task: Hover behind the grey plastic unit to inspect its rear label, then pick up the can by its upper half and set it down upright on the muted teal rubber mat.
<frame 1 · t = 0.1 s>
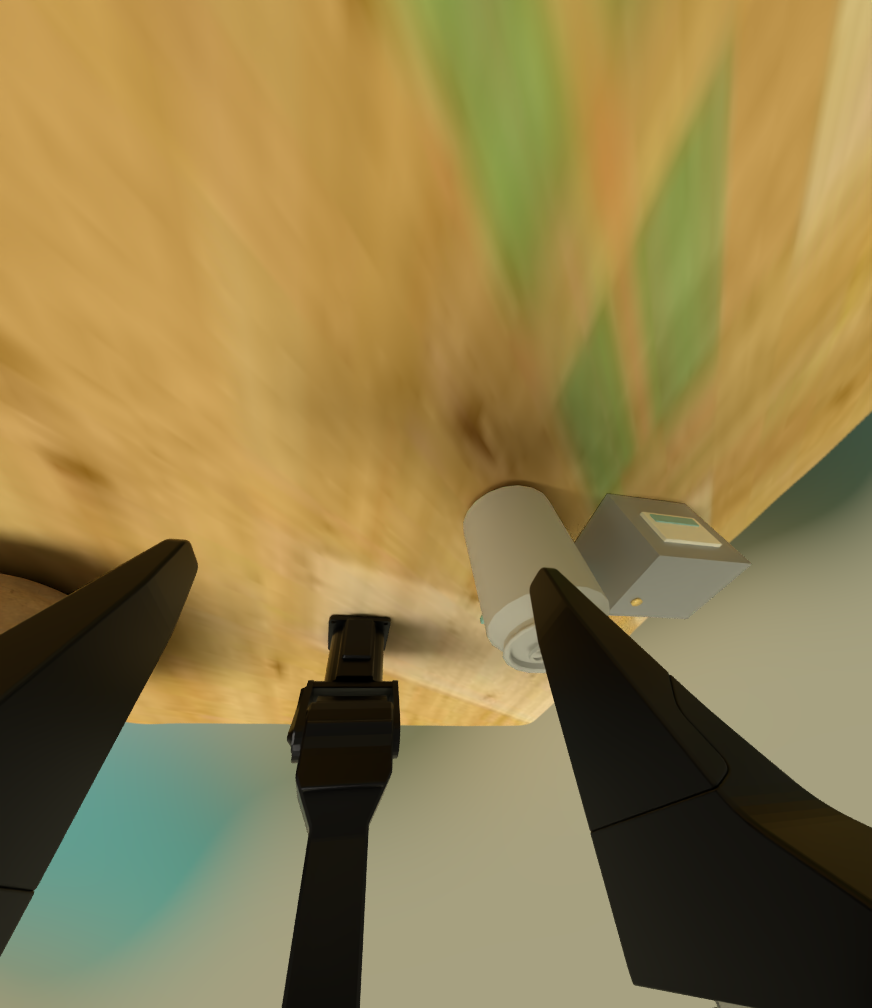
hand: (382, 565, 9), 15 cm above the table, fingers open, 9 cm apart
ceramic bowl: (22, 601, 29), on the table
unit: (624, 528, 30), on the table
can: (504, 513, 28), on the table
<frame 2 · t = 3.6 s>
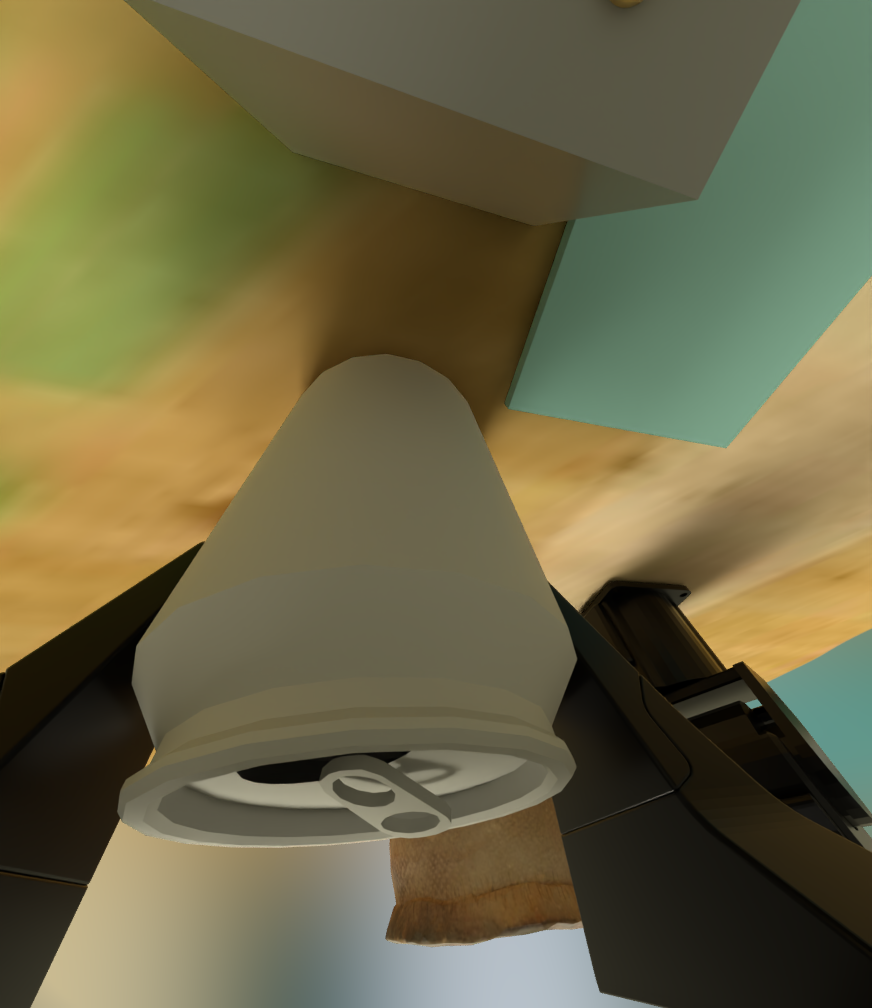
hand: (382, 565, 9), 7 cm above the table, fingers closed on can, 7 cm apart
ceramic bowl: (474, 741, 42), on the table
can: (388, 438, 14), on the table, touching gripper
mat: (704, 278, 11), on the table
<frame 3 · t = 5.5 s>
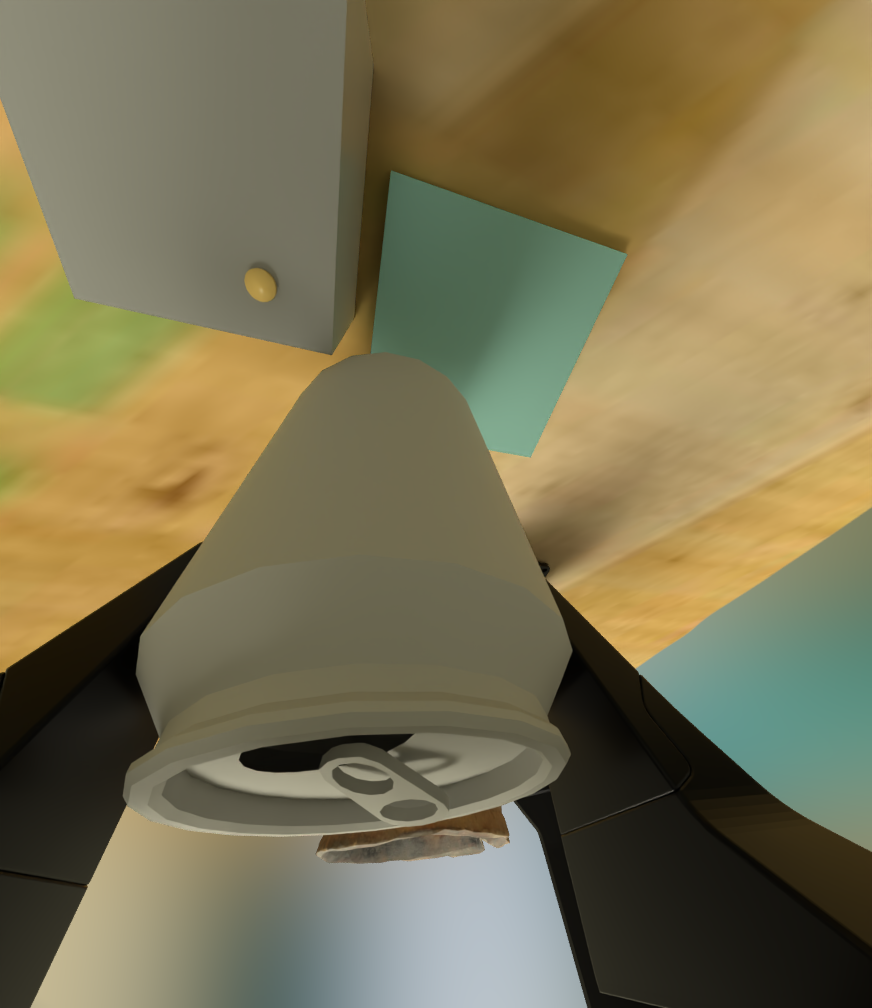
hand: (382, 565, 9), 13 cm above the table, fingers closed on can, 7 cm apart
ceramic bowl: (412, 705, 48), on the table
unit: (273, 184, 13), on the table
can: (388, 436, 14), point 6 cm above the table, touching gripper
mat: (476, 348, 17), on the table
when the fingers open (8 cm above the table, at t = 7.5 s): can stays where it is, resting on mat.
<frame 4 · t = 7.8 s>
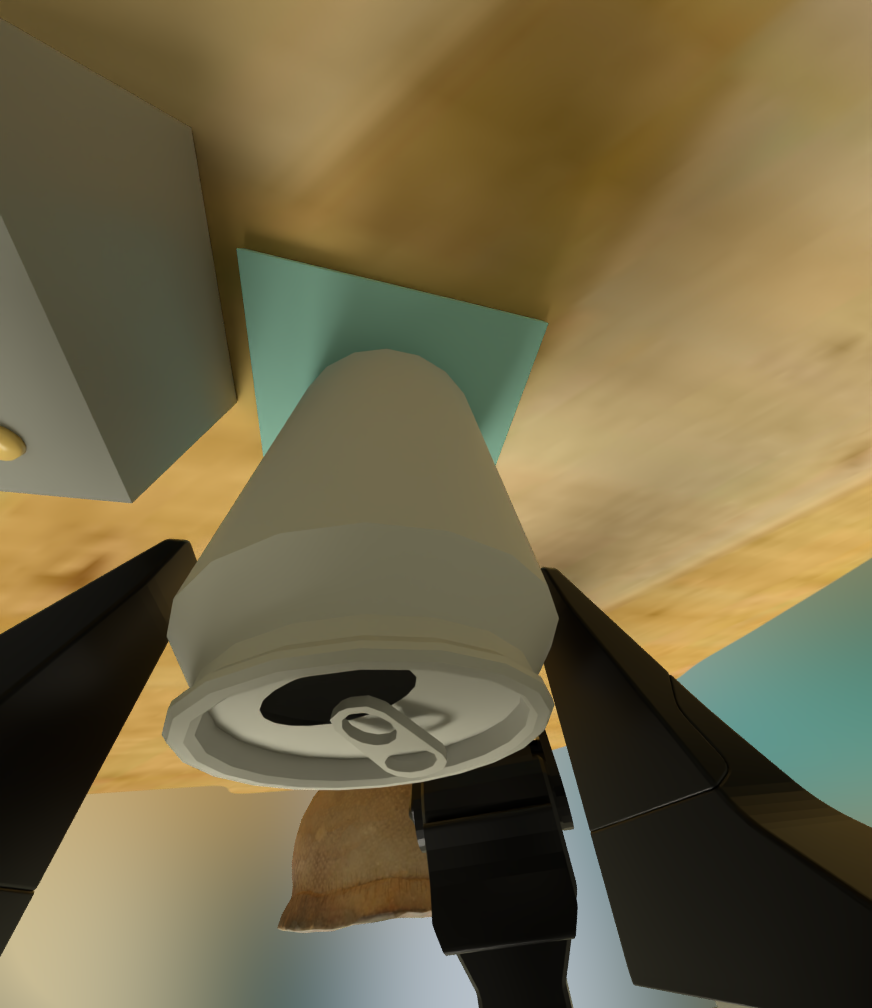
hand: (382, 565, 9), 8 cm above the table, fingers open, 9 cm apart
ceramic bowl: (390, 750, 46), on the table
unit: (102, 268, 11), on the table
can: (389, 430, 15), resting on mat
mat: (389, 425, 15), on the table
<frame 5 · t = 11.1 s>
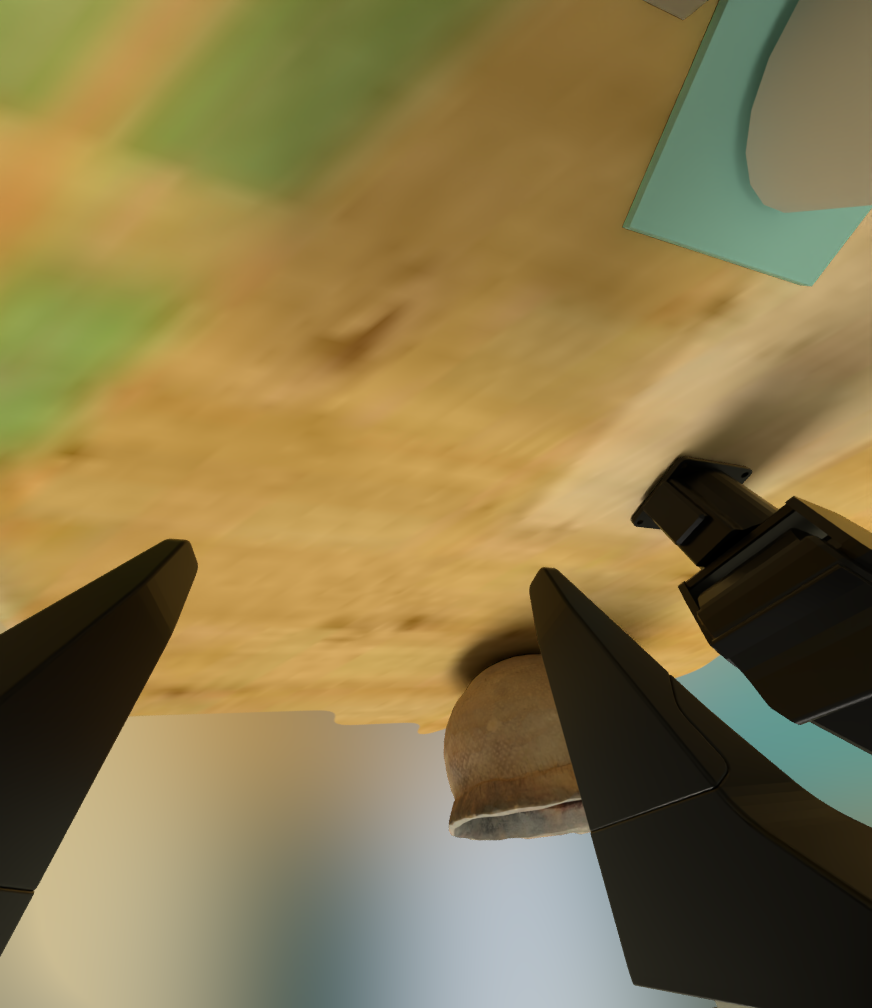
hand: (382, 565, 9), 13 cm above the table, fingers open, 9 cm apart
ceramic bowl: (516, 669, 43), on the table
can: (829, 85, 12), resting on mat
mat: (818, 87, 13), on the table
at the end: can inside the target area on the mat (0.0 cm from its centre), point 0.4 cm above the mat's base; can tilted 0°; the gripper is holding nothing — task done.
